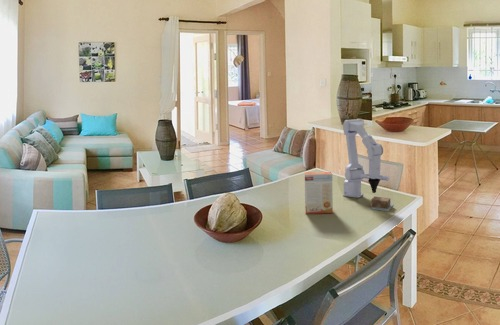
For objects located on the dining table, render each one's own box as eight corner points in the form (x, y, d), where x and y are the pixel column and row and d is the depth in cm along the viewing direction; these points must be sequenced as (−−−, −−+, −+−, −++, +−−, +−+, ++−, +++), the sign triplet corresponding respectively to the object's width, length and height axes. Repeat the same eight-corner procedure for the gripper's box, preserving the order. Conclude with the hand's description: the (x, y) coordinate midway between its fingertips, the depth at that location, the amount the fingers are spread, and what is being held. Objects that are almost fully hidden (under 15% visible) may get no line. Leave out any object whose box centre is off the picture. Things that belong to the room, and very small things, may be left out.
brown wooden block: (371, 199, 229) (387, 201, 224) (374, 196, 234) (390, 198, 229) (371, 206, 230) (387, 208, 225) (374, 203, 235) (390, 205, 230)
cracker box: (331, 209, 228) (331, 171, 224) (332, 213, 222) (332, 174, 218) (304, 210, 230) (304, 171, 225) (305, 213, 224) (304, 174, 219)
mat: (370, 209, 227) (370, 208, 227) (376, 202, 237) (376, 202, 237) (388, 211, 222) (388, 210, 222) (393, 204, 232) (393, 204, 232)
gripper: (358, 168, 228) (358, 192, 231) (386, 170, 220) (386, 196, 223) (362, 165, 234) (362, 189, 237) (390, 167, 226) (389, 192, 229)
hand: (374, 192), depth 230 cm, fingers closed
